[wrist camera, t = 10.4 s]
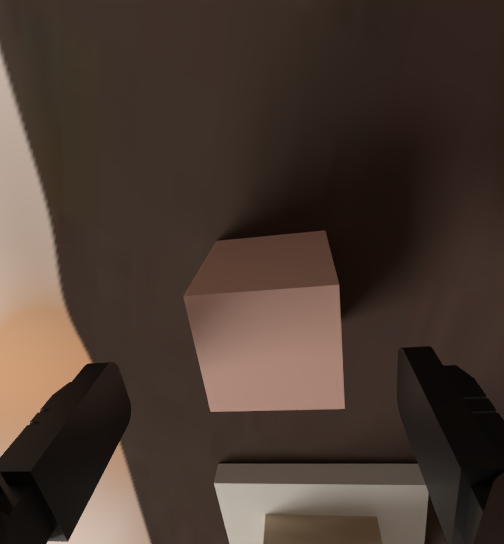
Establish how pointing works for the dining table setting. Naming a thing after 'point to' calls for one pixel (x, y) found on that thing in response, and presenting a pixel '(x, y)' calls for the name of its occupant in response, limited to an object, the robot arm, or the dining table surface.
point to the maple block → (321, 529)
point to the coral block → (268, 324)
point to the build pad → (323, 497)
